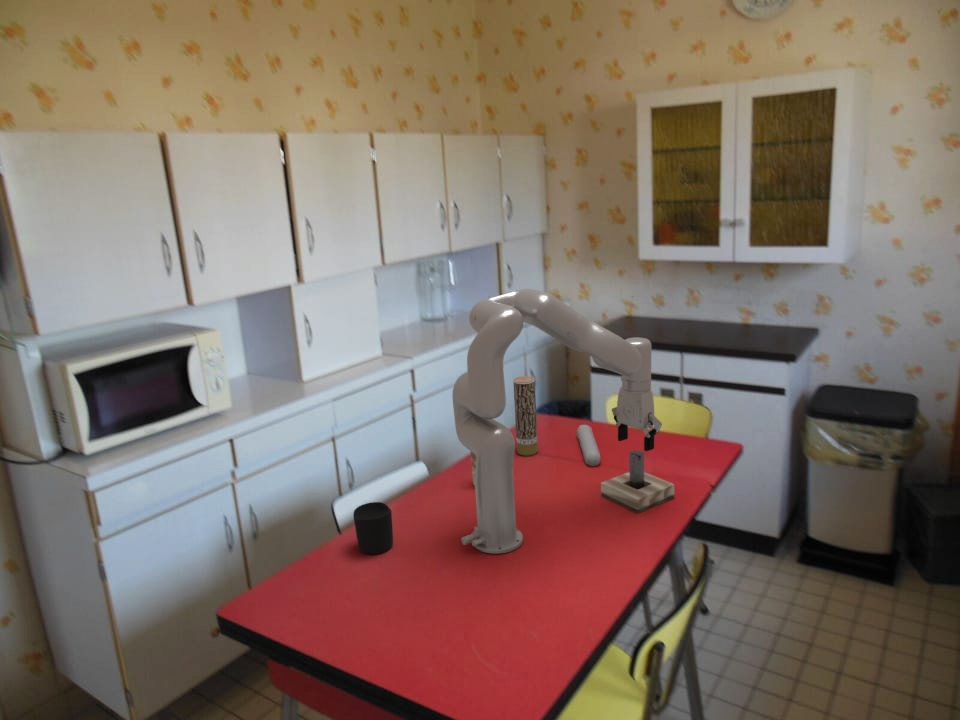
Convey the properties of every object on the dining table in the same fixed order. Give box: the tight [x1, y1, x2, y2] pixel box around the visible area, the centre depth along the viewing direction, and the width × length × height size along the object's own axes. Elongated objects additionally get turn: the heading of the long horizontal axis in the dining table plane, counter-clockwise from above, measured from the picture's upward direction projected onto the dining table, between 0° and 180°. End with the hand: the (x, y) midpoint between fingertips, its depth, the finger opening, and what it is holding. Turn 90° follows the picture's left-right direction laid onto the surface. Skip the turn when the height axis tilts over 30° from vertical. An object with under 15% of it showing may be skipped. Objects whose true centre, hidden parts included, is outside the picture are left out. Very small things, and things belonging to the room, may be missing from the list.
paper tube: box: [513, 375, 539, 457], centre depth 232 cm, size 7×7×25 cm
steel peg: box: [628, 449, 645, 490], centre depth 198 cm, size 4×4×12 cm
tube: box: [576, 424, 601, 467], centre depth 232 cm, size 5×5×25 cm
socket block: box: [600, 471, 675, 514], centre depth 199 cm, size 14×14×4 cm
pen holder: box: [352, 501, 394, 556], centre depth 181 cm, size 9×9×10 cm
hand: (635, 444), depth 195 cm, fingers open, 9 cm apart
